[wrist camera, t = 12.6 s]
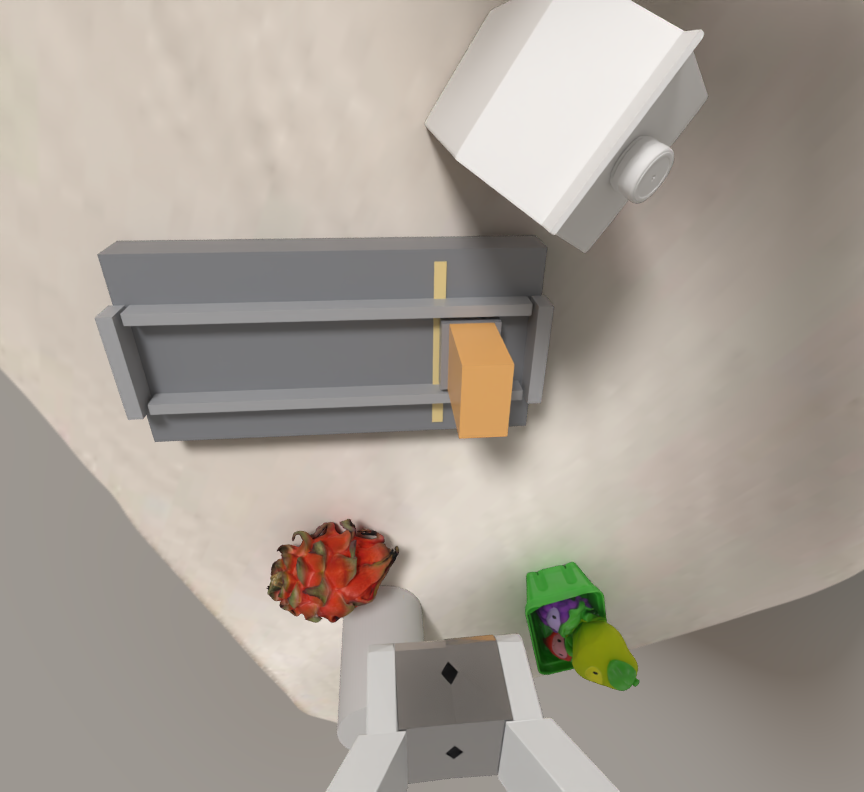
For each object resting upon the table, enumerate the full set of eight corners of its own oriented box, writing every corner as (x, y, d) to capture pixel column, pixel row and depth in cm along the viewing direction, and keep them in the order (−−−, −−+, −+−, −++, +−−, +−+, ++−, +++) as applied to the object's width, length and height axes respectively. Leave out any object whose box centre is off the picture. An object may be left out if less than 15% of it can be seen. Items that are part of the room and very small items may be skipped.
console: (112, 241, 36) (77, 264, 31) (539, 235, 38) (560, 256, 34) (163, 419, 43) (140, 458, 39) (520, 405, 45) (536, 440, 41)
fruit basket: (511, 567, 56) (541, 672, 46) (596, 546, 55) (644, 647, 46) (527, 633, 62) (556, 739, 52) (605, 615, 61) (648, 718, 52)
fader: (439, 316, 37) (453, 366, 31) (497, 314, 37) (523, 364, 31) (438, 380, 40) (451, 438, 33) (492, 378, 40) (515, 435, 34)
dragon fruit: (265, 536, 52) (385, 498, 54) (289, 623, 52) (410, 583, 53) (241, 552, 44) (384, 506, 45) (269, 657, 43) (414, 607, 45)
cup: (379, 646, 60) (380, 765, 50) (327, 612, 56) (317, 733, 46) (436, 611, 58) (450, 728, 48) (386, 574, 54) (389, 691, 44)
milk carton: (422, 124, 34) (469, 175, 18) (490, 8, 31) (619, -57, 15) (511, 189, 36) (623, 286, 20) (581, 87, 34) (776, 105, 18)
